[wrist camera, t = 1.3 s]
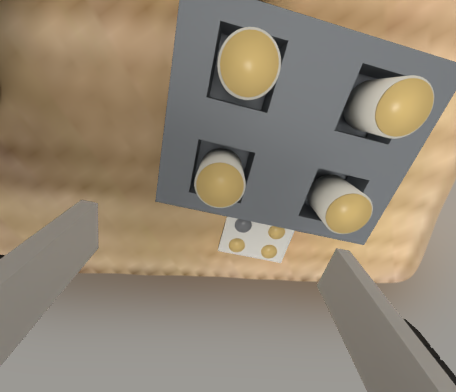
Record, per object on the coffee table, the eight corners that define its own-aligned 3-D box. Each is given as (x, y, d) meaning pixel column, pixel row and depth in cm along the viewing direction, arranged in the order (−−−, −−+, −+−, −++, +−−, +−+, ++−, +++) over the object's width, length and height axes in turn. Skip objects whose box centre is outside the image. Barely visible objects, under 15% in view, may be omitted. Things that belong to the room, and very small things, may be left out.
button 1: (196, 183, 26) (190, 203, 21) (204, 143, 24) (199, 155, 20) (236, 192, 27) (238, 213, 22) (247, 153, 25) (252, 167, 20)
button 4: (335, 124, 24) (363, 131, 19) (357, 73, 22) (393, 67, 17) (377, 135, 24) (414, 144, 19) (401, 86, 22) (449, 84, 17)
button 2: (214, 92, 22) (211, 91, 17) (225, 35, 20) (225, 17, 16) (261, 104, 23) (270, 106, 18) (276, 50, 21) (290, 36, 16)
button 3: (301, 206, 28) (316, 230, 23) (316, 170, 26) (336, 187, 21) (337, 214, 28) (359, 239, 23) (354, 179, 26) (383, 198, 21)
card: (218, 248, 34) (217, 251, 34) (228, 208, 32) (228, 211, 31) (280, 260, 35) (281, 263, 35) (295, 223, 33) (297, 226, 32)
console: (166, 185, 30) (155, 201, 25) (191, 1, 22) (182, -24, 17) (344, 224, 33) (363, 244, 28) (425, 71, 25) (470, 66, 20)
